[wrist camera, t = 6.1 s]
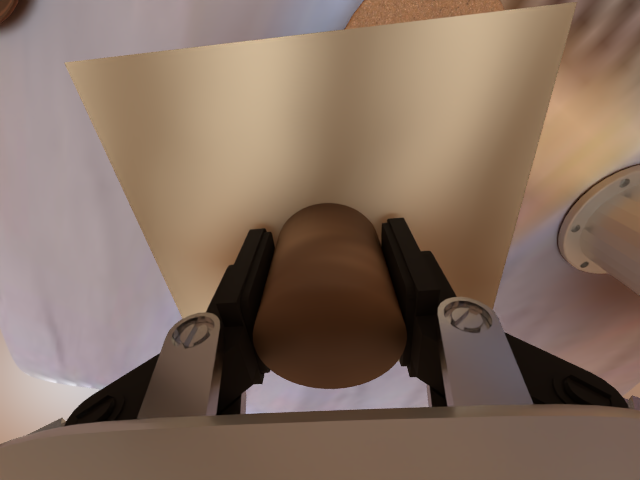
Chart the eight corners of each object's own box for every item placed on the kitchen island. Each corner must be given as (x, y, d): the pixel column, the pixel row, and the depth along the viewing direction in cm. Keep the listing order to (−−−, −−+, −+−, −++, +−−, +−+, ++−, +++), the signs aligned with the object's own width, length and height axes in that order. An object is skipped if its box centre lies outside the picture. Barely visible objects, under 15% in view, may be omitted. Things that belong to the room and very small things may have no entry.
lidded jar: (356, 162, 28) (371, 203, 20) (305, 39, 23) (298, 27, 15) (470, 110, 26) (539, 132, 18) (441, -40, 21) (520, -104, 13)
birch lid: (556, 6, 8) (840, -64, 4) (472, 344, 15) (534, 462, 11) (84, 62, 9) (-156, 61, 5) (211, 357, 16) (167, 471, 12)
